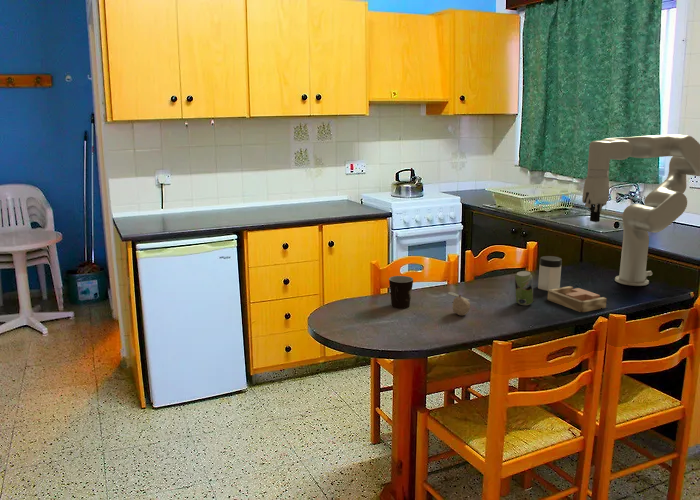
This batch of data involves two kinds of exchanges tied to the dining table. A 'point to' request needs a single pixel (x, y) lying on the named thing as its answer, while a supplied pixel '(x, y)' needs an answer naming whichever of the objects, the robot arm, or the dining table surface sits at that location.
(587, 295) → the t block
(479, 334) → the dining table surface
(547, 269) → the jar
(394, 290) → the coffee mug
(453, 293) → the butter knife
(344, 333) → the dining table surface
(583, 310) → the dock
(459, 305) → the garlic bulb
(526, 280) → the beverage can
